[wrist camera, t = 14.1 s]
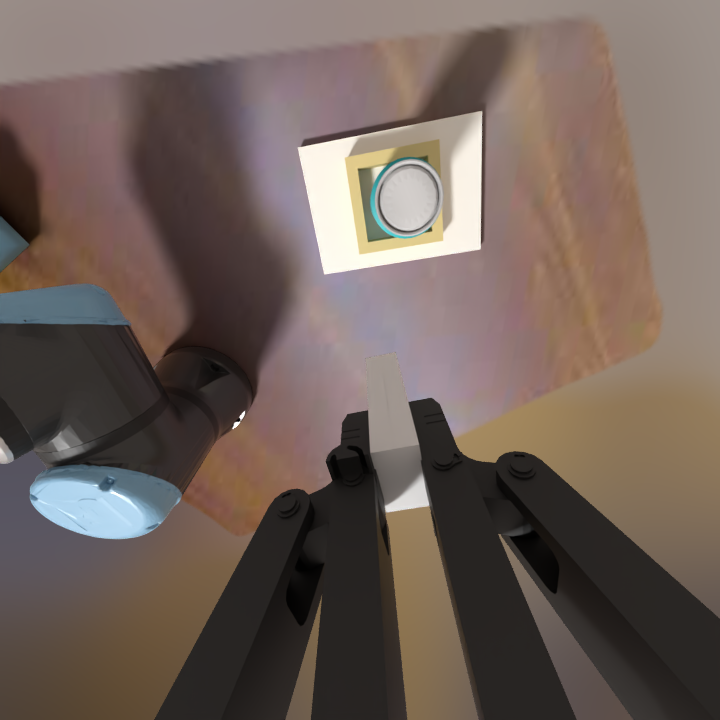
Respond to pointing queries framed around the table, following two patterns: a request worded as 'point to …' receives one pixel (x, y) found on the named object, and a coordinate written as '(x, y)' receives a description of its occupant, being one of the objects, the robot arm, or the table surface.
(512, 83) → the table surface
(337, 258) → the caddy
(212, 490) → the table surface
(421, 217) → the beverage can
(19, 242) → the teapot
